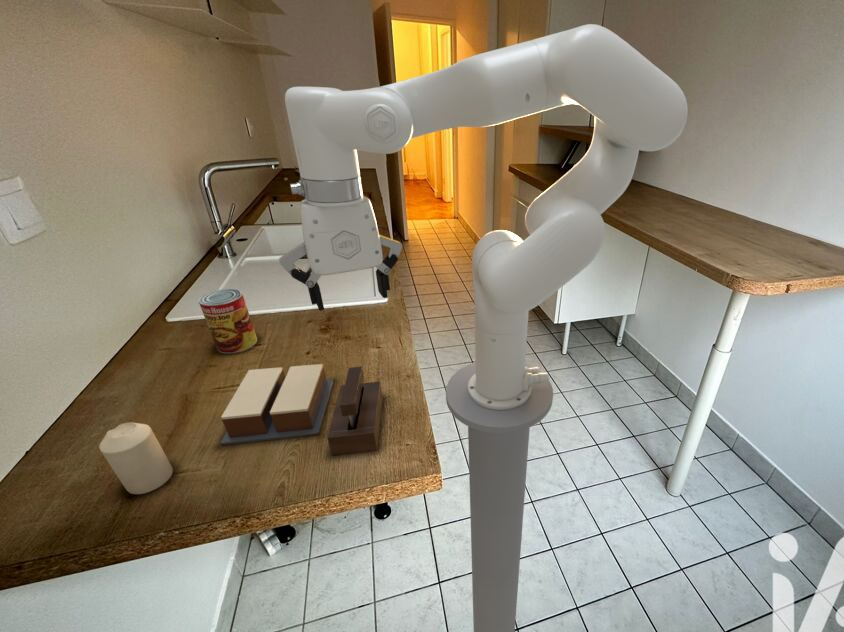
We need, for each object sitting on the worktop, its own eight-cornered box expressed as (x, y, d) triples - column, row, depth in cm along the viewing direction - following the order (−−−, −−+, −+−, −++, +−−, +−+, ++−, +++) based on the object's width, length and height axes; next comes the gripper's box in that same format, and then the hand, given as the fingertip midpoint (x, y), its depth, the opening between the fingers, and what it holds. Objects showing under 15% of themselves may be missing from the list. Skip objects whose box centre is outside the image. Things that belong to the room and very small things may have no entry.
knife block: (344, 401, 78) (340, 384, 76) (383, 397, 79) (380, 381, 77) (332, 455, 66) (327, 437, 64) (377, 450, 68) (373, 432, 66)
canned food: (208, 352, 90) (189, 303, 84) (232, 333, 97) (215, 287, 91) (243, 354, 90) (226, 305, 84) (264, 336, 96) (250, 289, 91)
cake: (334, 381, 83) (329, 360, 80) (318, 434, 70) (312, 412, 68) (252, 388, 80) (244, 367, 77) (221, 445, 67) (211, 422, 65)
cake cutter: (356, 406, 77) (348, 367, 72) (369, 405, 77) (362, 366, 73) (349, 446, 68) (339, 405, 64) (363, 444, 69) (354, 403, 64)
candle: (161, 491, 59) (132, 442, 54) (117, 497, 58) (83, 447, 53) (180, 462, 64) (154, 414, 59) (139, 467, 63) (110, 418, 58)
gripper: (264, 201, 50) (295, 323, 58) (403, 190, 58) (413, 299, 66) (260, 189, 55) (289, 302, 64) (388, 180, 63) (399, 282, 72)
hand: (352, 300), depth 65 cm, fingers open, 9 cm apart
